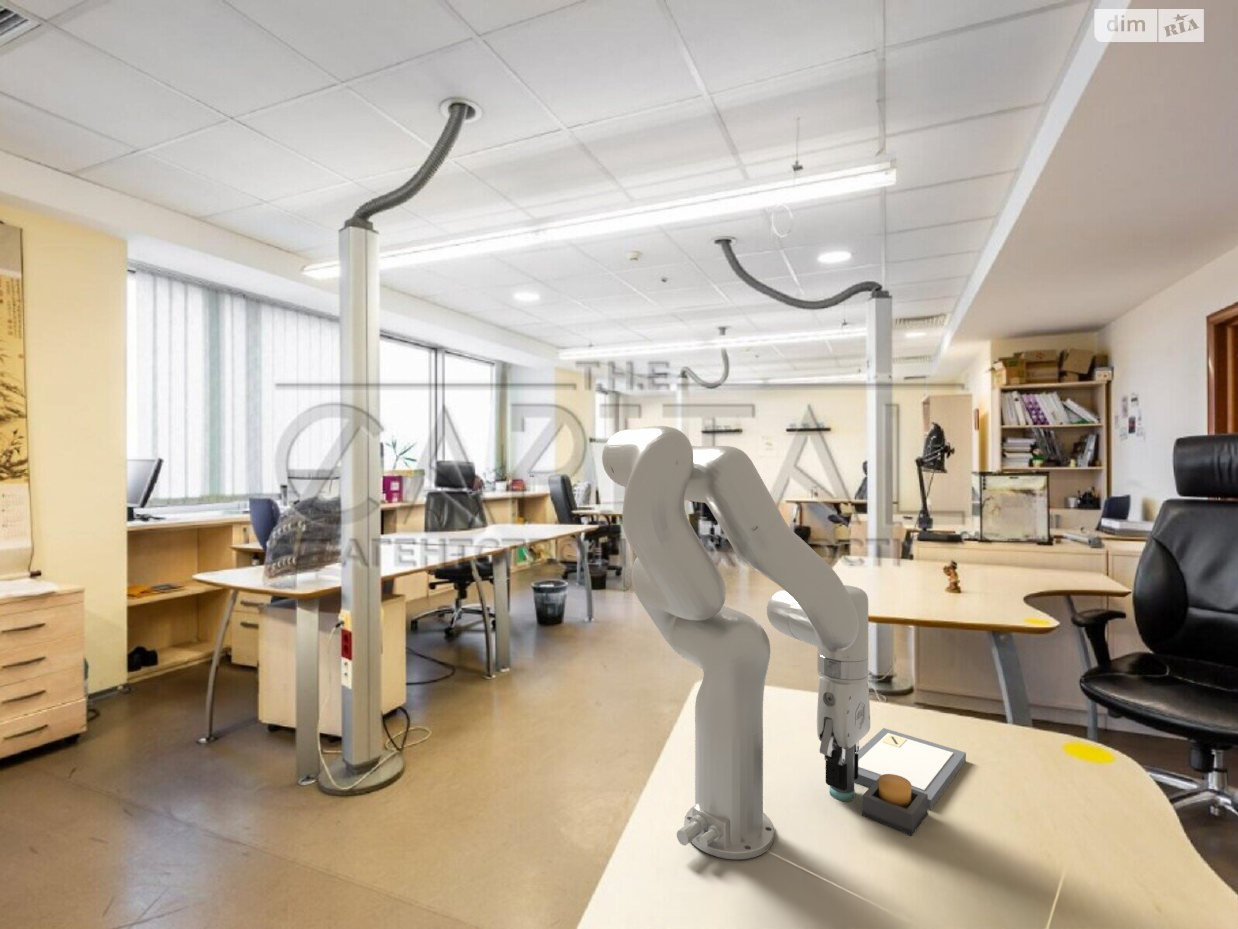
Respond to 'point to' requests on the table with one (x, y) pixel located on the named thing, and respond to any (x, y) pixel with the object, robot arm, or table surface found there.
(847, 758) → the marker
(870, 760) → the drawing board
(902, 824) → the button housing
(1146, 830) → the table surface
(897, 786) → the button
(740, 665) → the robot arm
